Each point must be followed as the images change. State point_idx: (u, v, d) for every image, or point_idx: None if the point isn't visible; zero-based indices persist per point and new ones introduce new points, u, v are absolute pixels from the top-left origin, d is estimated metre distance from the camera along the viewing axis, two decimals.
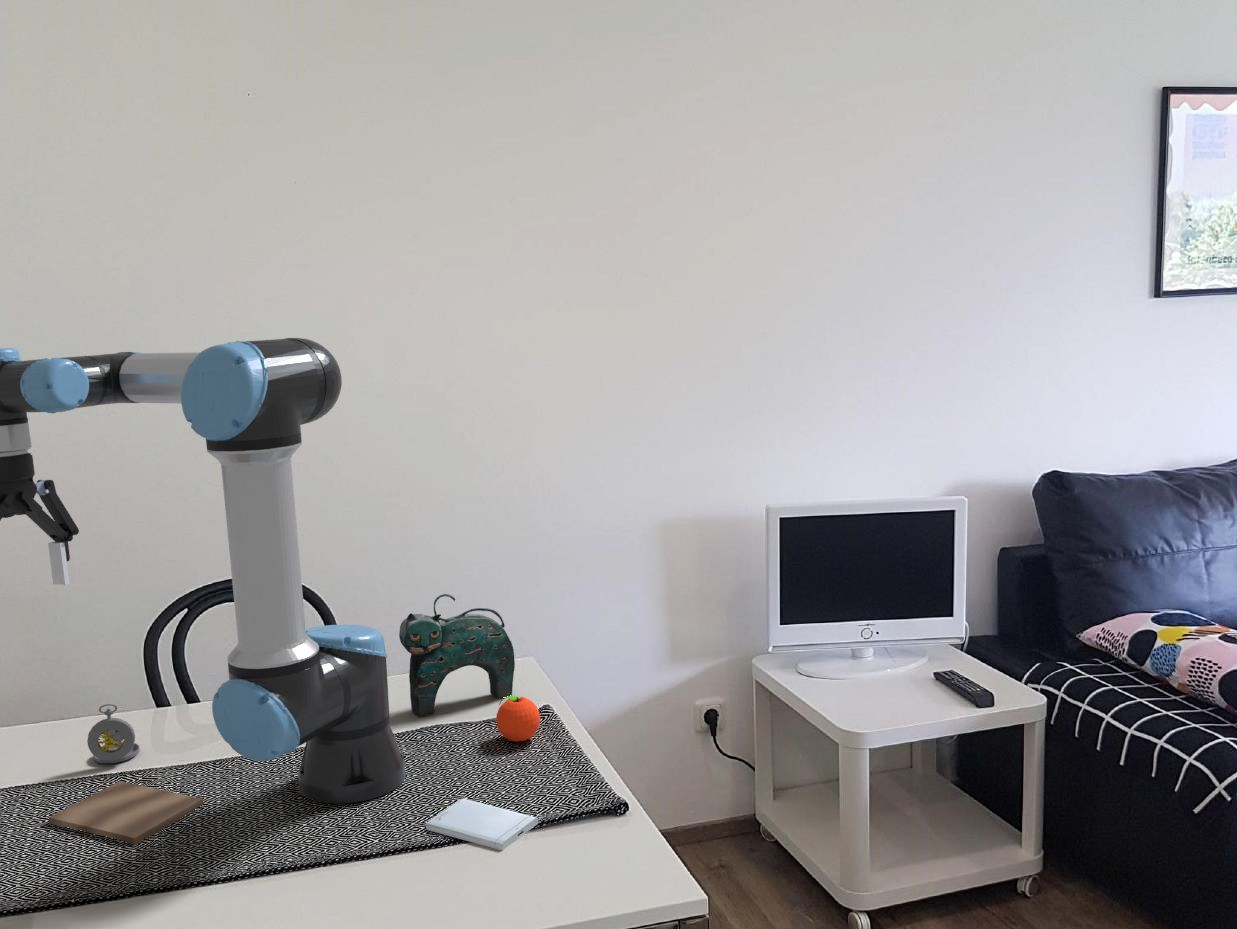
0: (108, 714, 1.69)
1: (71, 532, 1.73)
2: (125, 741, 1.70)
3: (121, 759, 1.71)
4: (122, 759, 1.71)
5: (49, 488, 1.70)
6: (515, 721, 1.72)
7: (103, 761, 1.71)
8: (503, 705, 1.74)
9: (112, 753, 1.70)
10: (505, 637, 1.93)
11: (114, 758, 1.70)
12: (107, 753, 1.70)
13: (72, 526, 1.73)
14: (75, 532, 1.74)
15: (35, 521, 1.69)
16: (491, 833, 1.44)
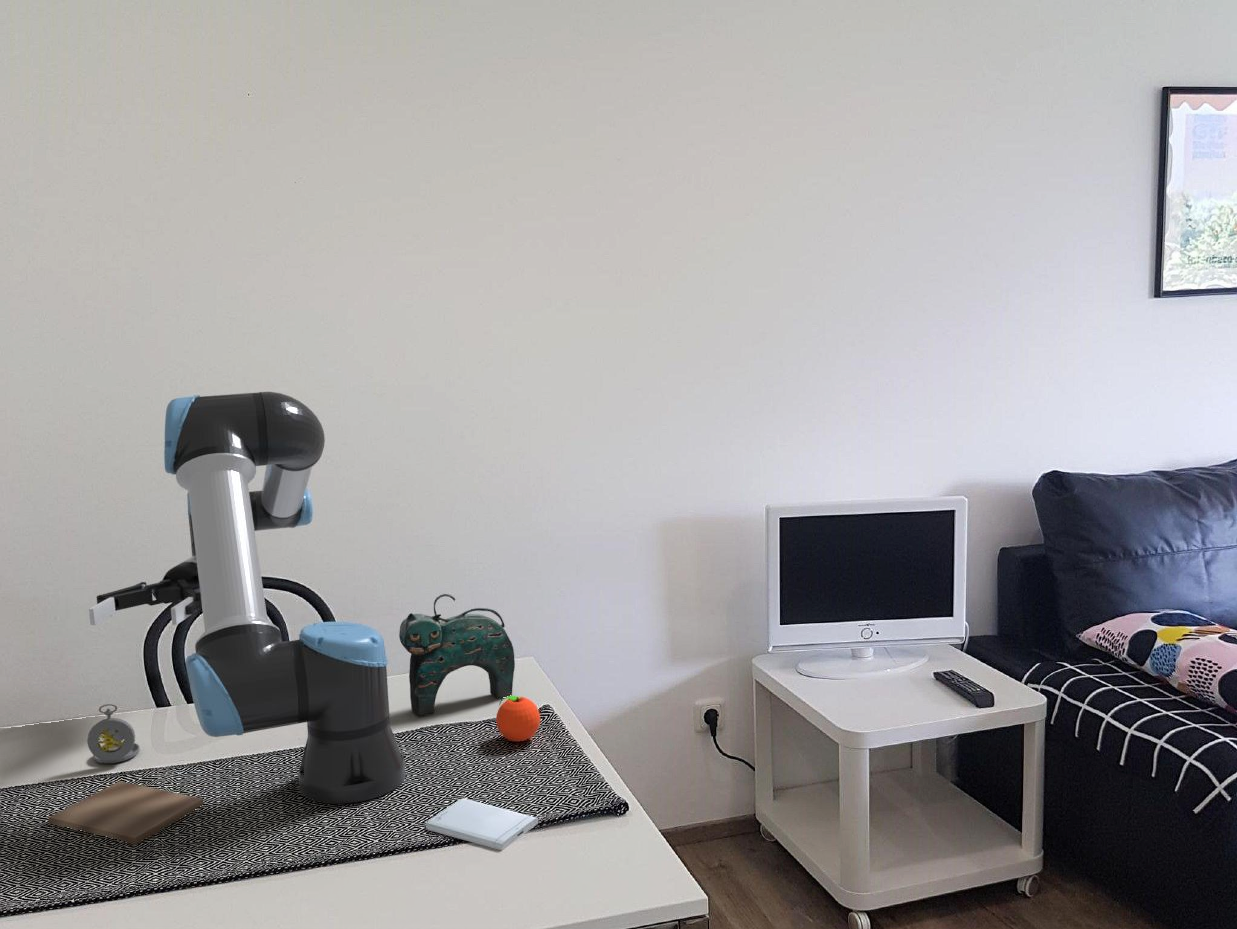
0: (108, 714, 1.69)
1: None
2: (125, 741, 1.70)
3: (121, 759, 1.71)
4: (122, 759, 1.71)
5: None
6: (515, 721, 1.72)
7: (103, 761, 1.71)
8: (503, 705, 1.74)
9: (112, 753, 1.70)
10: (505, 637, 1.93)
11: (114, 758, 1.70)
12: (107, 753, 1.70)
13: None
14: None
15: None
16: (491, 833, 1.44)
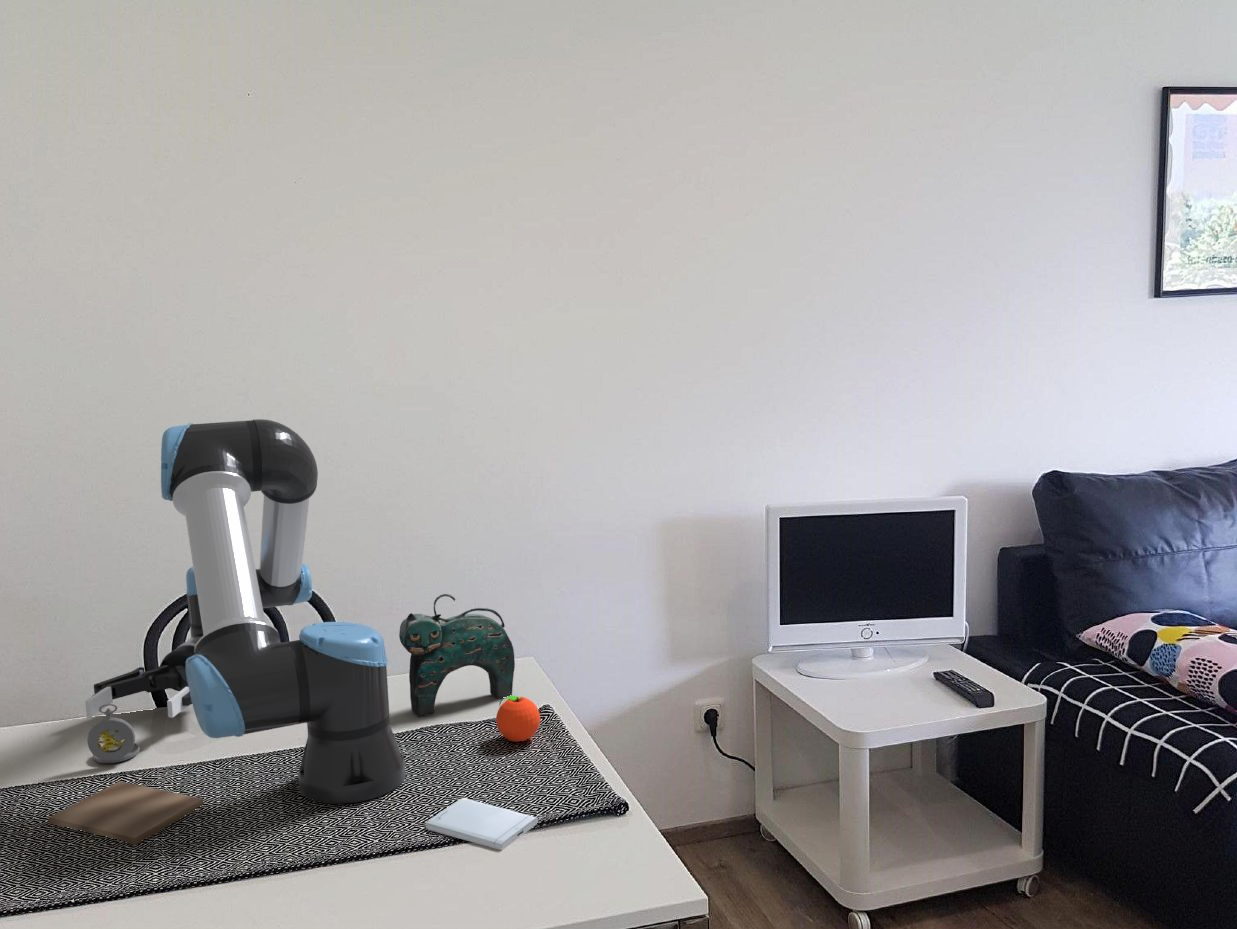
0: (108, 714, 1.69)
1: None
2: (125, 741, 1.70)
3: (121, 759, 1.71)
4: (122, 759, 1.71)
5: None
6: (515, 721, 1.72)
7: (103, 761, 1.71)
8: (503, 705, 1.74)
9: (112, 753, 1.70)
10: (505, 637, 1.93)
11: (114, 758, 1.70)
12: (107, 753, 1.70)
13: None
14: None
15: None
16: (490, 833, 1.44)
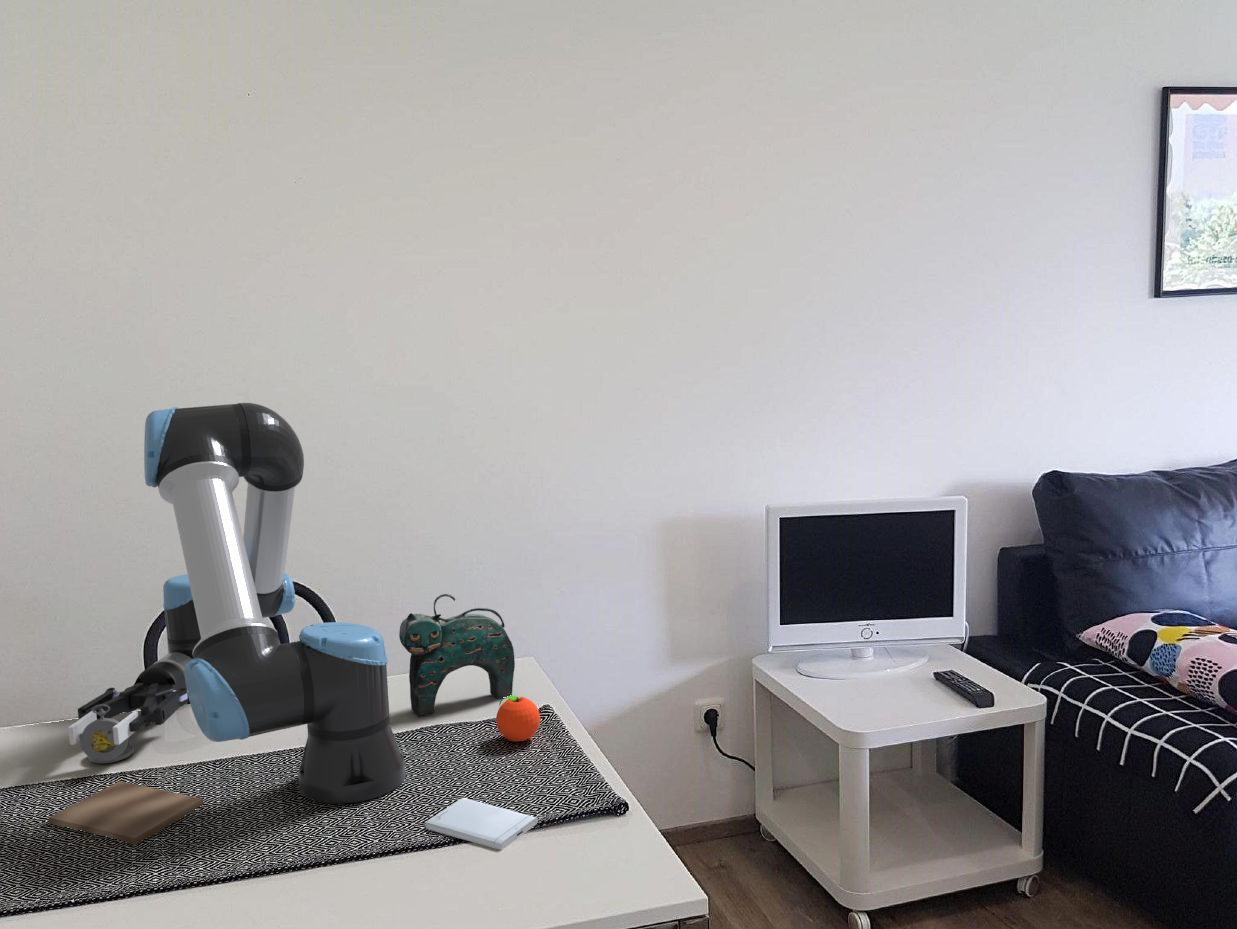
0: (101, 714, 1.69)
1: None
2: None
3: (114, 759, 1.71)
4: (115, 759, 1.71)
5: (178, 690, 1.82)
6: (515, 721, 1.72)
7: (97, 761, 1.71)
8: (503, 705, 1.74)
9: (105, 753, 1.70)
10: (505, 637, 1.93)
11: (107, 758, 1.70)
12: (100, 753, 1.70)
13: (160, 706, 1.75)
14: (156, 708, 1.74)
15: None
16: (490, 833, 1.44)
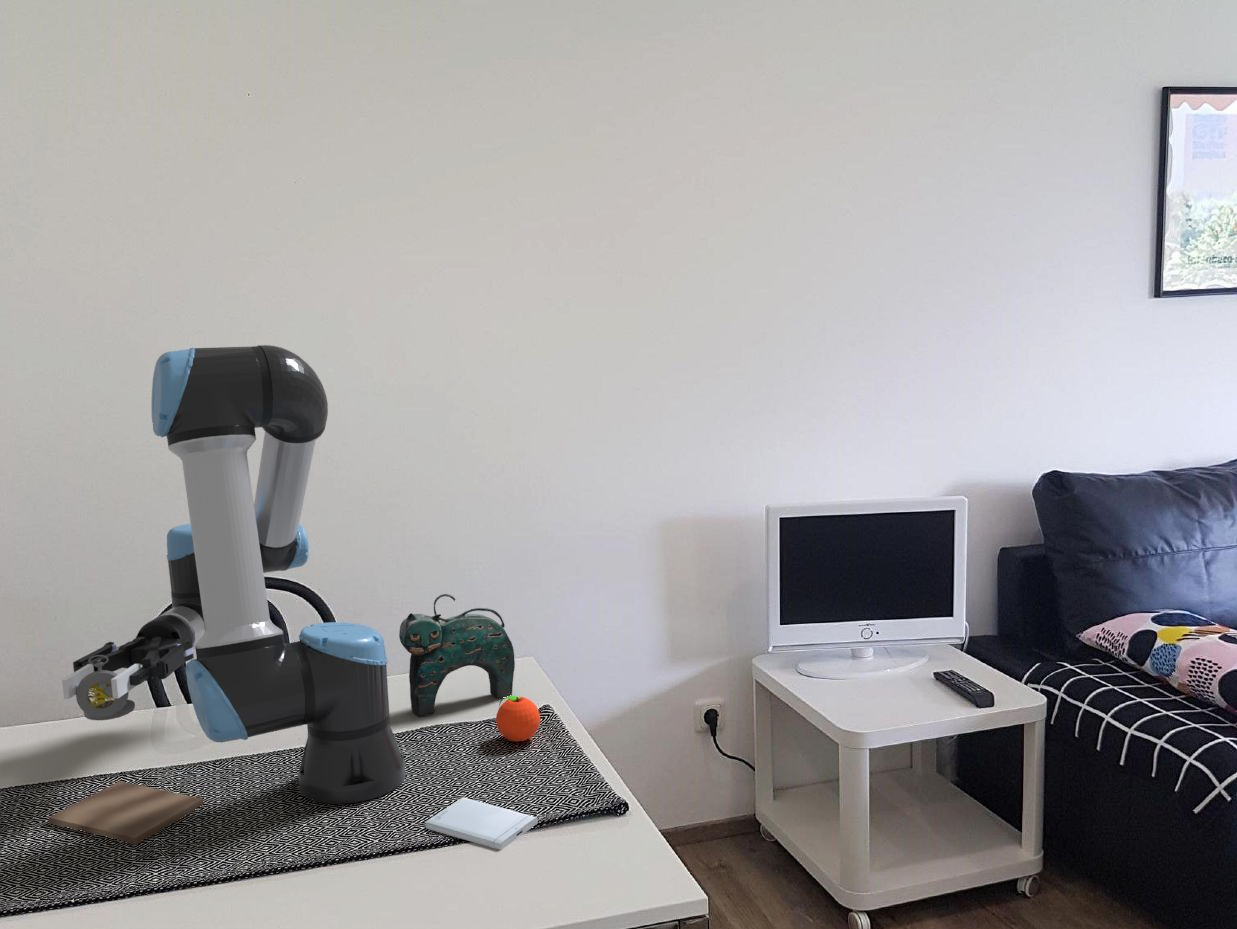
0: (98, 666, 1.54)
1: None
2: None
3: (113, 716, 1.56)
4: (114, 716, 1.56)
5: (183, 644, 1.67)
6: (515, 721, 1.72)
7: (94, 718, 1.56)
8: (503, 705, 1.74)
9: (103, 709, 1.55)
10: (505, 637, 1.93)
11: (105, 715, 1.55)
12: (97, 709, 1.54)
13: (163, 659, 1.60)
14: (159, 661, 1.59)
15: None
16: (490, 833, 1.44)
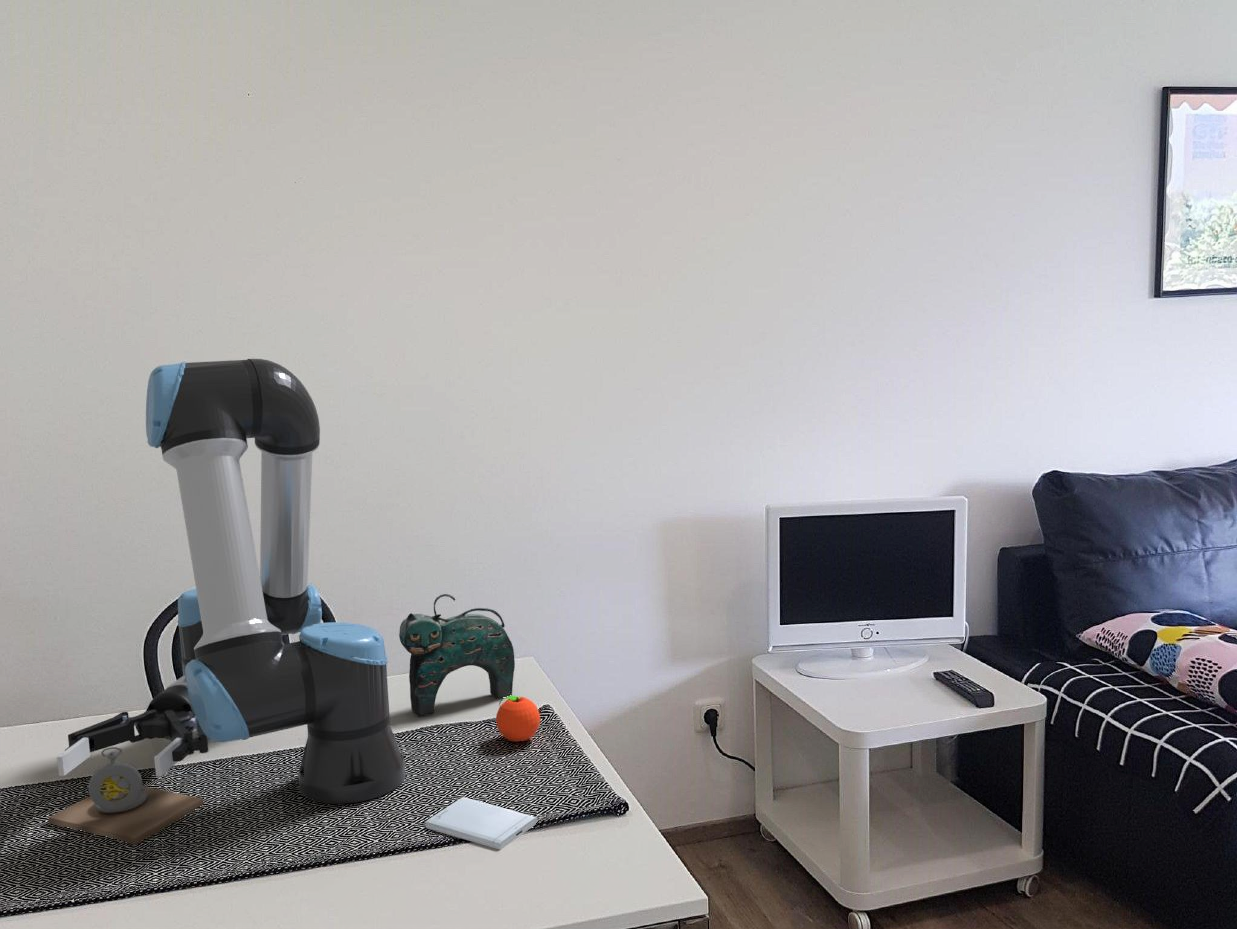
0: (112, 758, 1.50)
1: (198, 736, 1.56)
2: (131, 788, 1.51)
3: (126, 808, 1.52)
4: (128, 808, 1.52)
5: None
6: (515, 721, 1.72)
7: (106, 810, 1.52)
8: (503, 705, 1.74)
9: (116, 802, 1.51)
10: (505, 637, 1.93)
11: (119, 807, 1.51)
12: (111, 802, 1.51)
13: (202, 732, 1.57)
14: (201, 735, 1.56)
15: None
16: (489, 833, 1.44)
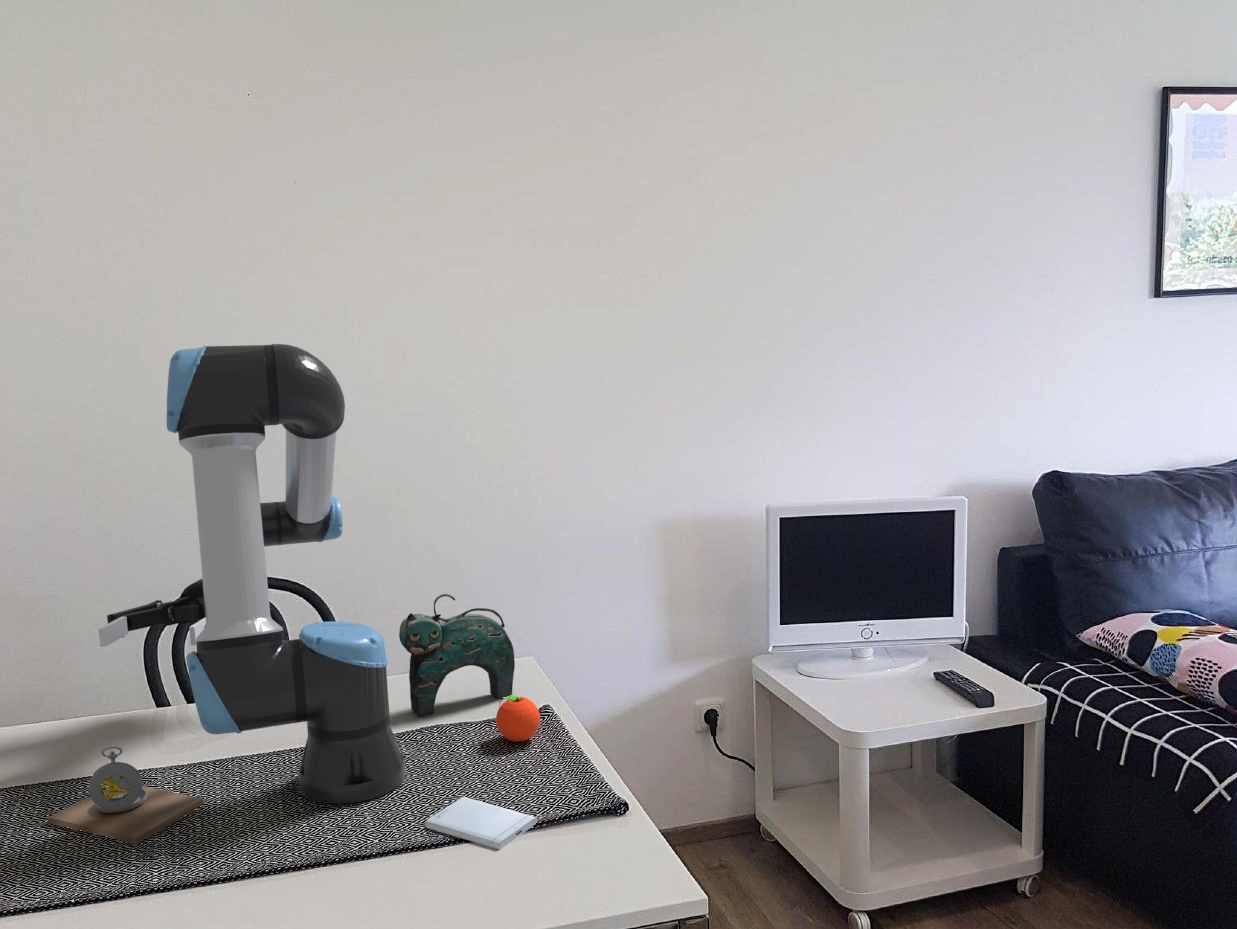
0: (112, 758, 1.50)
1: None
2: (131, 788, 1.51)
3: (127, 808, 1.52)
4: (128, 808, 1.53)
5: None
6: (515, 721, 1.72)
7: (106, 810, 1.52)
8: (503, 705, 1.74)
9: (116, 802, 1.51)
10: (505, 637, 1.93)
11: (119, 807, 1.51)
12: (111, 802, 1.51)
13: None
14: None
15: None
16: (489, 832, 1.44)
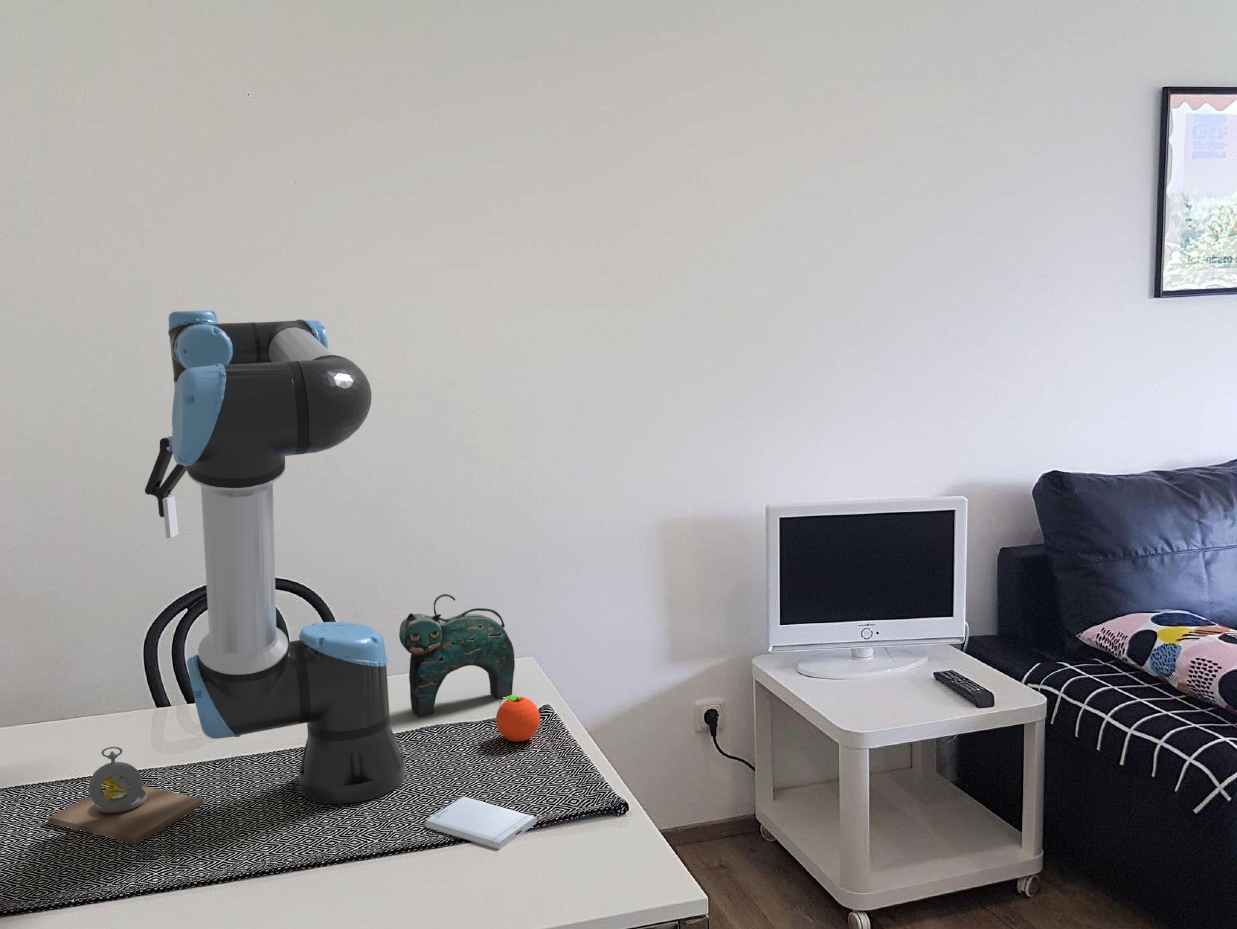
0: (112, 758, 1.50)
1: None
2: (131, 788, 1.51)
3: (127, 808, 1.52)
4: (128, 808, 1.53)
5: None
6: (515, 721, 1.72)
7: (106, 810, 1.52)
8: (503, 705, 1.74)
9: (116, 802, 1.51)
10: (505, 637, 1.93)
11: (119, 807, 1.51)
12: (111, 802, 1.51)
13: None
14: None
15: None
16: (489, 832, 1.44)
